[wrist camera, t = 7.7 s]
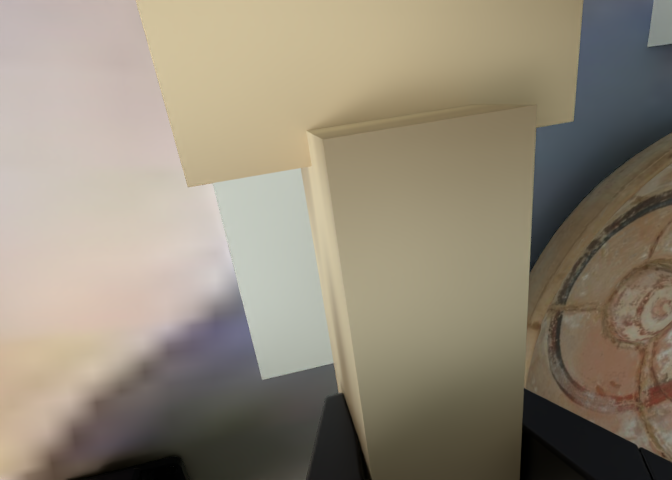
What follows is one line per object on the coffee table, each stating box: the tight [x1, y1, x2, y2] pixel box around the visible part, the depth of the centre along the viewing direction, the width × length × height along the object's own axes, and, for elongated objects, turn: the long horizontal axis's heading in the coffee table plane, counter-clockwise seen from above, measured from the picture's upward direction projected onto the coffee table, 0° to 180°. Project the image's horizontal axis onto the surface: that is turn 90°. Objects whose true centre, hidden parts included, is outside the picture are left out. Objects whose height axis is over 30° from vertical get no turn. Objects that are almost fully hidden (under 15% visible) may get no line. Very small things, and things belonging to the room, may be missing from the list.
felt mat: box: [213, 168, 334, 380], centre depth 19 cm, size 14×9×1 cm, turn 8°
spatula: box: [136, 0, 583, 480], centre depth 7 cm, size 20×6×4 cm, turn 8°
